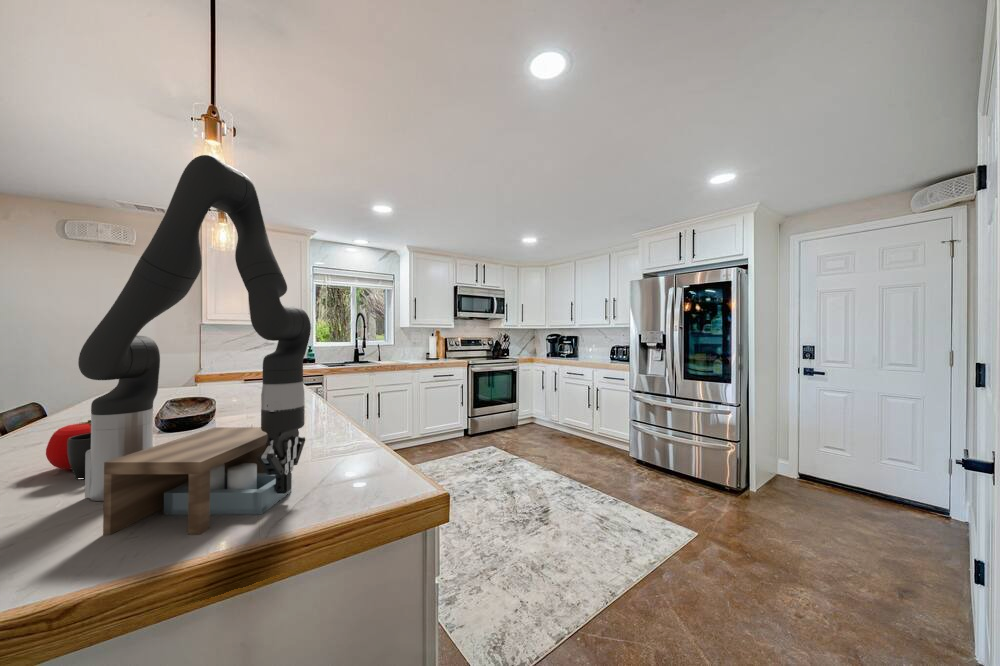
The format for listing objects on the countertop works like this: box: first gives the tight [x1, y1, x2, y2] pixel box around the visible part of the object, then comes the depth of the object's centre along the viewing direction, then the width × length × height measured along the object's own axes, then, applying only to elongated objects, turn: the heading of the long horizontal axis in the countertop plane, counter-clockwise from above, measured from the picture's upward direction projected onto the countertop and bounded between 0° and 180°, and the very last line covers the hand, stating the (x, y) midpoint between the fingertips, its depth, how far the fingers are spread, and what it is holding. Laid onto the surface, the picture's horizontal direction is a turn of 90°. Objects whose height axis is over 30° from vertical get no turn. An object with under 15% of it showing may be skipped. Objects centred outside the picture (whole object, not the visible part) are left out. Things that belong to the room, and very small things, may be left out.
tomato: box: [45, 419, 91, 470], centre depth 94 cm, size 13×14×12 cm
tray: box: [163, 463, 293, 516], centre depth 73 cm, size 18×10×7 cm, turn 91°
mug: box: [67, 433, 91, 479], centre depth 87 cm, size 8×12×10 cm
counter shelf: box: [102, 426, 268, 536], centre depth 73 cm, size 16×24×12 cm, turn 1°
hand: (283, 491), depth 73 cm, fingers closed
